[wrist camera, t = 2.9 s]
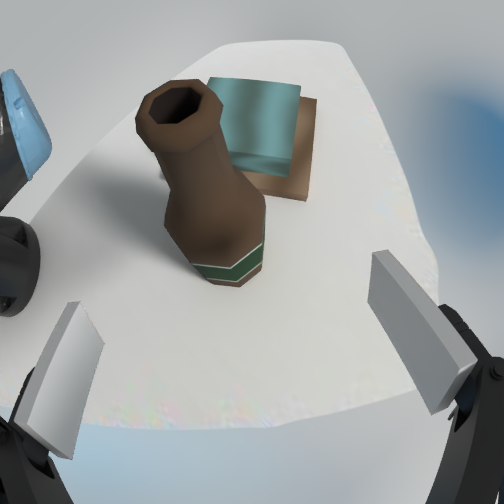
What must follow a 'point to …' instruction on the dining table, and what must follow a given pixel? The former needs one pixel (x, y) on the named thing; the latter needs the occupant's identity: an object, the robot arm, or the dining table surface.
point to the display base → (268, 133)
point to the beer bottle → (203, 183)
